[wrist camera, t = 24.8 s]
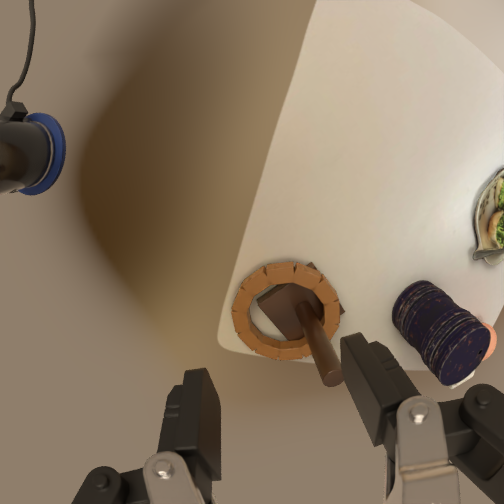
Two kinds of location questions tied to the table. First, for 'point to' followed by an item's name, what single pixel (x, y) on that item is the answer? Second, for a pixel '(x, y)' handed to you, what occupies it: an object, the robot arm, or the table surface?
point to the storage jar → (440, 332)
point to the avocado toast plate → (491, 221)
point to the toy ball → (492, 342)
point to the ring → (282, 275)
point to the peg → (303, 325)
